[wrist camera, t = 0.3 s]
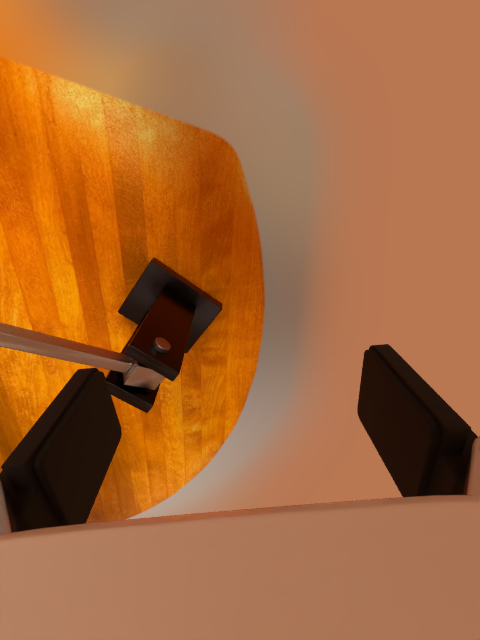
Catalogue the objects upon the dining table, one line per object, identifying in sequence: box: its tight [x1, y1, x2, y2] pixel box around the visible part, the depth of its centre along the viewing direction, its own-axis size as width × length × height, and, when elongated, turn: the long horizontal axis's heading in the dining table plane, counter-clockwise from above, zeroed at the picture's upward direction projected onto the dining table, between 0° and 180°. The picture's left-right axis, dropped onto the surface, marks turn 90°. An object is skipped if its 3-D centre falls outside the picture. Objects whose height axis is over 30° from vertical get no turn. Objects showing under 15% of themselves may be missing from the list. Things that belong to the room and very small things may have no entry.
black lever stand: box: [105, 258, 222, 413], centre depth 31 cm, size 10×8×16 cm
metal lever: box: [0, 323, 165, 390], centre depth 22 cm, size 14×5×2 cm, turn 52°
